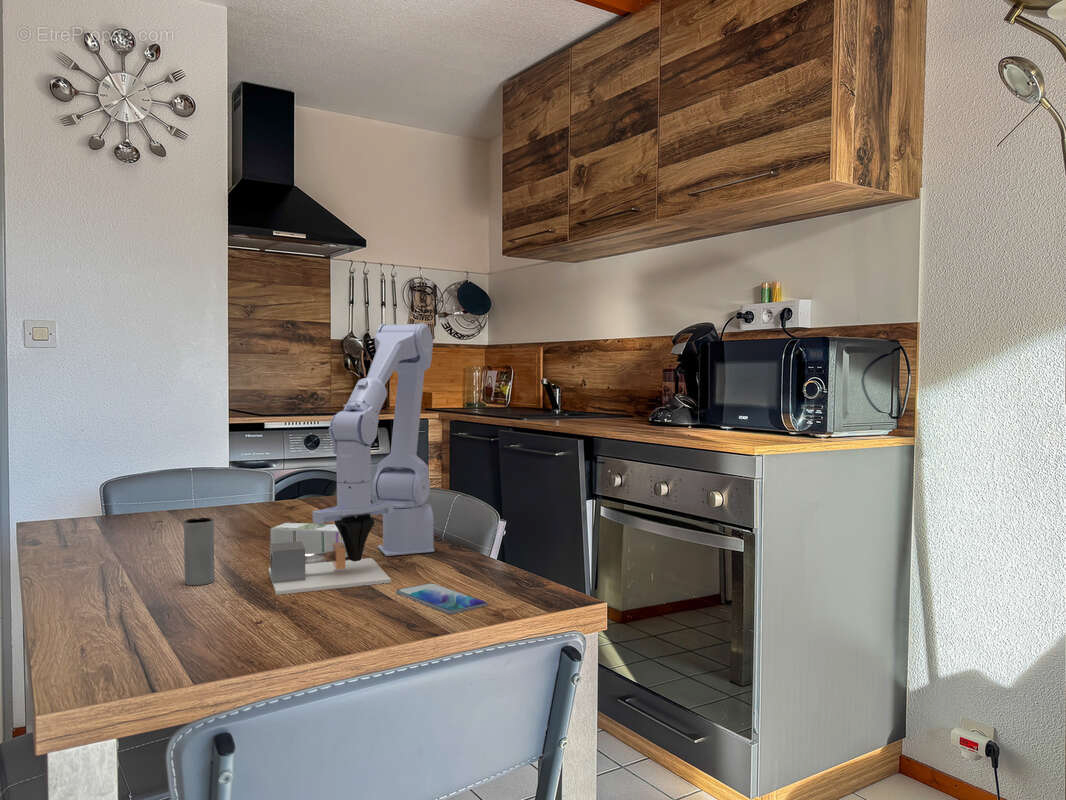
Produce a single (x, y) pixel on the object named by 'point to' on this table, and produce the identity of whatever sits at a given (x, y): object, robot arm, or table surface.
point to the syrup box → (308, 536)
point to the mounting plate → (334, 577)
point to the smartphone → (441, 598)
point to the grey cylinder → (199, 551)
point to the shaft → (328, 556)
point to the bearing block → (287, 561)
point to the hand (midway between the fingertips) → (354, 560)
